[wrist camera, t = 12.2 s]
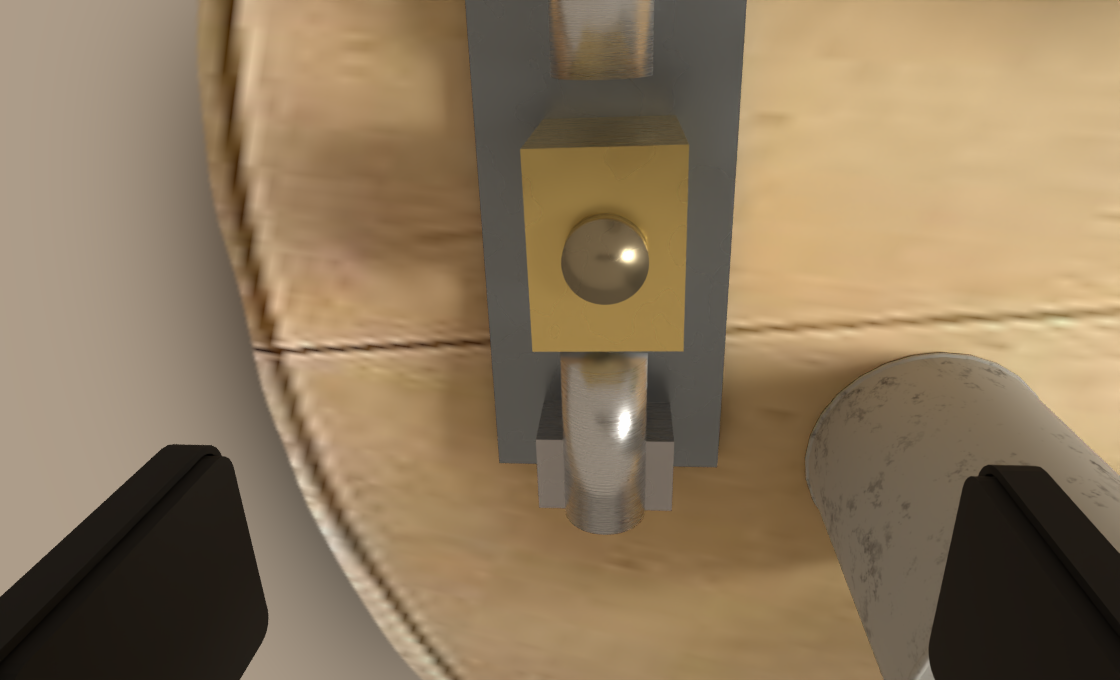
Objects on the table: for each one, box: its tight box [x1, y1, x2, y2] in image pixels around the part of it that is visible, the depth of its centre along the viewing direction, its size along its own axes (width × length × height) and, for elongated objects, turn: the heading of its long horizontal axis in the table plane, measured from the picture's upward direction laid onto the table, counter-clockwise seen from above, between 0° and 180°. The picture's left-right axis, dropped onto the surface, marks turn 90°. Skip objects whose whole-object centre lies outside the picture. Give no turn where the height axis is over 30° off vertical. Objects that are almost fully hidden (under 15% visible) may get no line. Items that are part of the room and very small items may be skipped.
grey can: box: [805, 352, 1120, 680], centre depth 25 cm, size 10×10×12 cm
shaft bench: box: [465, 0, 747, 535], centre depth 25 cm, size 22×9×6 cm, turn 2°
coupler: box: [520, 115, 689, 352], centre depth 24 cm, size 6×4×7 cm
